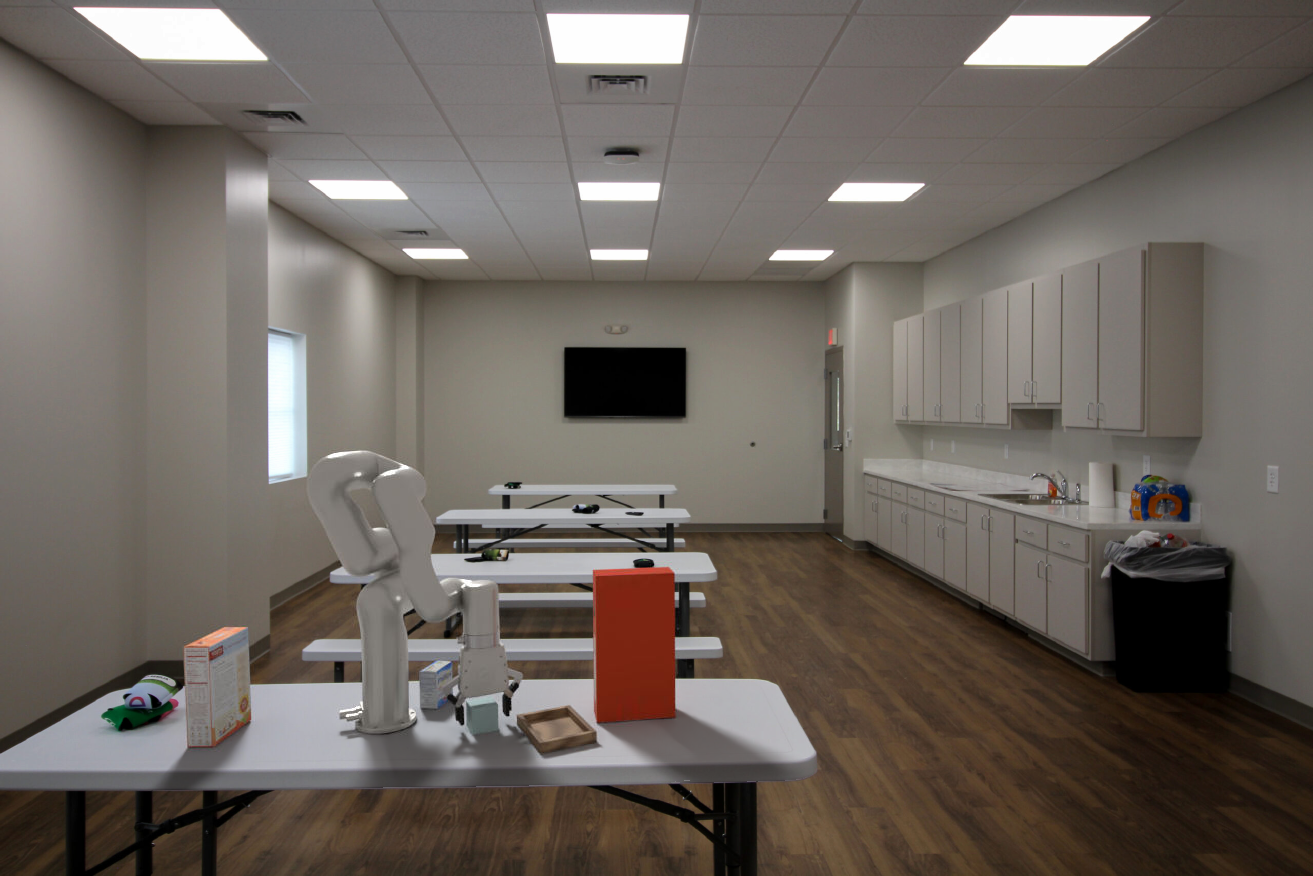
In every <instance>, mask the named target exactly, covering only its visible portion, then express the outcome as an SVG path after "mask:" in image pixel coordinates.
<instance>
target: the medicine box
mask: <svg viewBox="0 0 1313 876" xmlns="http://www.w3.org/2000/svg"><path fill="white" fill-rule="evenodd" d="M418 673H419V674H418V676H419V678H418V679H419V680H418V683H419V686H418V687H419V708H421V709H429V710H430V709H431V710H438V709H439V708H441V707H442V706H443V705H444V704H446V703H447V702H448V701H449V700H448V699H447V698H446V696H445V694H444V693H443V691H442V689H441V687H442V686H443V685H444V684H446V683H447V682H449V681H450V680H452V679H453V661H451V660H450V661H449V660H435V661H434V662H432V663H431V664H429V665H428V666H426V667H424V668H423V669H421V670H420V671H418ZM453 688H454V687H453ZM453 688H452V689H451V690H450V692H451V694H453V695H454V693H453V692H454V689H453Z"/></svg>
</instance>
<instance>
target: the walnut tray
mask: <svg viewBox="0 0 1313 876" xmlns="http://www.w3.org/2000/svg"><path fill="white" fill-rule="evenodd" d="M516 726H517V727H518V728H519V730H521V732H522V734H524V736H525V737H526V738H527V740H528V742H530V744H531V745H532V746H533V748H534V749H535V750H536V751H537V752H538V753H539V755H544V754H548V753H552V752H558V751H561V750H562V751H563V750H567V749H572V748H577V747H581V746H586V745H591V744H595V743H597V742H598V741H597V740H598V737H597V735H598V734H597V731H596V729H595V728H594V727H592V725H591V724H589V722H587V721H586V719H584V718H583V717H582V715H580V713H578V712H577V711H576V710H575V709H574V708H573V707H572V705H571V704H570V705H562V706H557V707H556V706H555V707H552V708H545V709H541V710H535V711H529V712H523V713H519V714H516Z"/></svg>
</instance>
